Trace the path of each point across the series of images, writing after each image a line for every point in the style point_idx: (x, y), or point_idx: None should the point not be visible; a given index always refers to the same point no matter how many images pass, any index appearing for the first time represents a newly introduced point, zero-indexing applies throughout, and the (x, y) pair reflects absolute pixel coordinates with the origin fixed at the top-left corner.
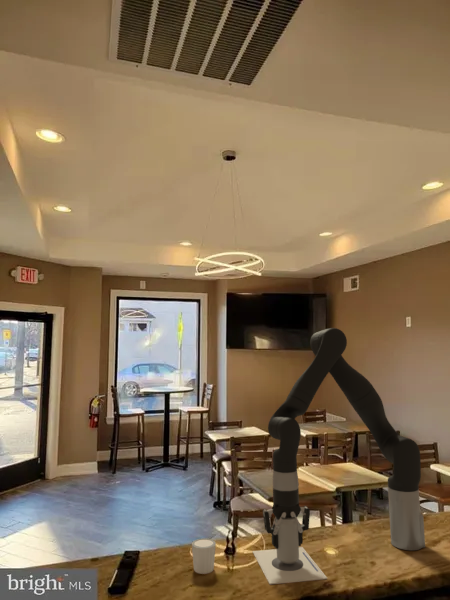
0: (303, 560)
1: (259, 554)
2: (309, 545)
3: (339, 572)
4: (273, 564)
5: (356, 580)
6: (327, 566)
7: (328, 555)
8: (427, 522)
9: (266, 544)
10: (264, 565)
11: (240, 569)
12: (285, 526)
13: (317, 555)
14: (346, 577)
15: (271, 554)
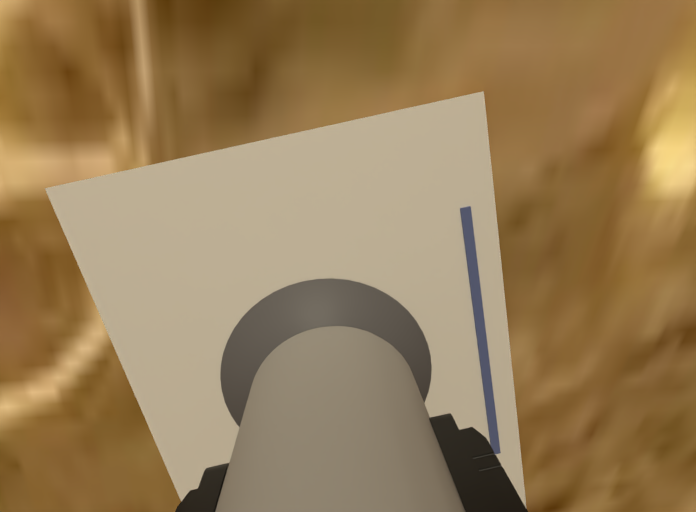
0: (442, 329)
1: (116, 248)
2: (552, 32)
3: (612, 437)
4: (233, 400)
5: (660, 502)
6: (571, 377)
7: (635, 225)
8: None
9: (159, 6)
10: (172, 411)
11: (19, 447)
12: None
13: (559, 228)
14: (625, 481)
15: (214, 245)
